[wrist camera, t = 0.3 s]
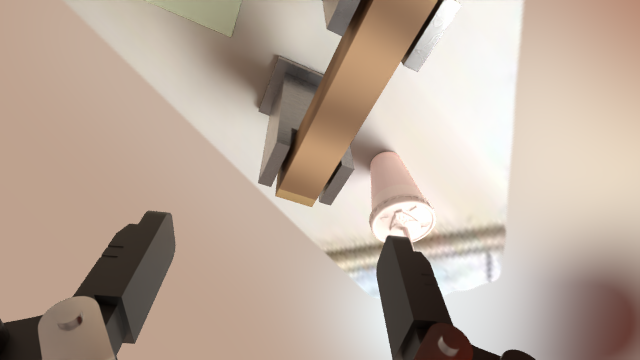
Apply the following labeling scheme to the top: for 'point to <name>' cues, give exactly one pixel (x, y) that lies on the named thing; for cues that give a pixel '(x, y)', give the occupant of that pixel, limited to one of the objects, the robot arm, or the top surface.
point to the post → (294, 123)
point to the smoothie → (397, 201)
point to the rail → (349, 92)
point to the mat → (205, 12)
